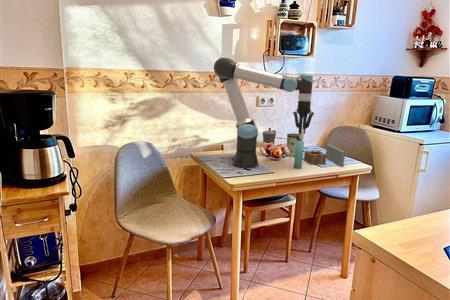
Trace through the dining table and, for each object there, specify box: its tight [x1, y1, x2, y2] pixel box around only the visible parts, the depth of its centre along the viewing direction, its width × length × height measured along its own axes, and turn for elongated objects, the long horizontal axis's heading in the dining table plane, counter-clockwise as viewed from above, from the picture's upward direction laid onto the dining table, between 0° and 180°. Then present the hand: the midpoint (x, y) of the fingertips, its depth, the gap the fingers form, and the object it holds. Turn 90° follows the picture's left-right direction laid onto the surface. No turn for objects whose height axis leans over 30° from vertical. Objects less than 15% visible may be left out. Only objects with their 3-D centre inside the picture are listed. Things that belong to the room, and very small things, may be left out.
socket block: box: [303, 150, 327, 165], centre depth 210 cm, size 10×10×6 cm
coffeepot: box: [262, 127, 277, 143], centre depth 224 cm, size 15×9×18 cm, turn 144°
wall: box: [325, 144, 346, 167], centre depth 212 cm, size 2×20×9 cm, turn 10°
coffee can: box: [286, 133, 303, 158], centre depth 224 cm, size 10×10×14 cm
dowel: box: [293, 140, 305, 170], centre depth 195 cm, size 4×4×16 cm
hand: (301, 138), depth 205 cm, fingers closed
